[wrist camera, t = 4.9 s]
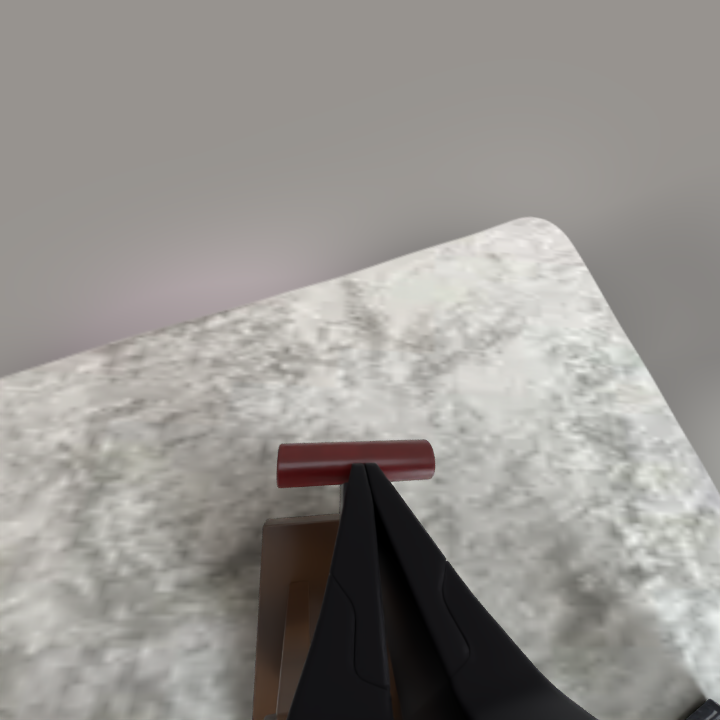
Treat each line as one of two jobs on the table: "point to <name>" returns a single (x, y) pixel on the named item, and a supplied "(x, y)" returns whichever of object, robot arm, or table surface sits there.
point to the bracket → (292, 608)
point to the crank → (336, 459)
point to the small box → (706, 711)
